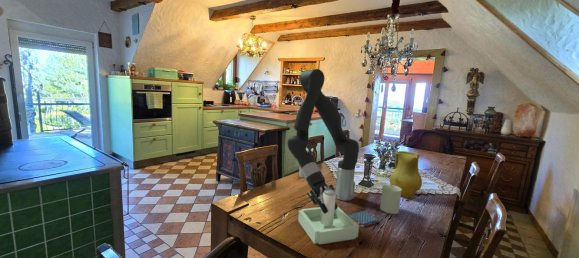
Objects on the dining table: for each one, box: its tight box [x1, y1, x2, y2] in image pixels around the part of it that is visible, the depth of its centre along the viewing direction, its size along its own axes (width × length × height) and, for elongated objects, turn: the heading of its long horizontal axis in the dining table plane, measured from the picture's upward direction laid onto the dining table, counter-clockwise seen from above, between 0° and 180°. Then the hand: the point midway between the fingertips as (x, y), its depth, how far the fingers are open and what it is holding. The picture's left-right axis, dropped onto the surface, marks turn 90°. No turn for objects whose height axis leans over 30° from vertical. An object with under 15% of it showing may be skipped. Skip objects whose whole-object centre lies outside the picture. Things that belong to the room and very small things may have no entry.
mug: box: [298, 166, 305, 179], centre depth 174 cm, size 12×9×10 cm
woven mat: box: [347, 210, 380, 228], centre depth 118 cm, size 10×11×2 cm
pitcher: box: [389, 150, 423, 199], centre depth 151 cm, size 17×19×25 cm
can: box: [379, 184, 402, 215], centre depth 129 cm, size 9×9×12 cm
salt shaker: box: [320, 189, 337, 226], centre depth 107 cm, size 5×5×14 cm
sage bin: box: [298, 206, 360, 245], centre depth 109 cm, size 19×19×5 cm
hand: (331, 210), depth 106 cm, fingers closed on salt shaker, 5 cm apart
